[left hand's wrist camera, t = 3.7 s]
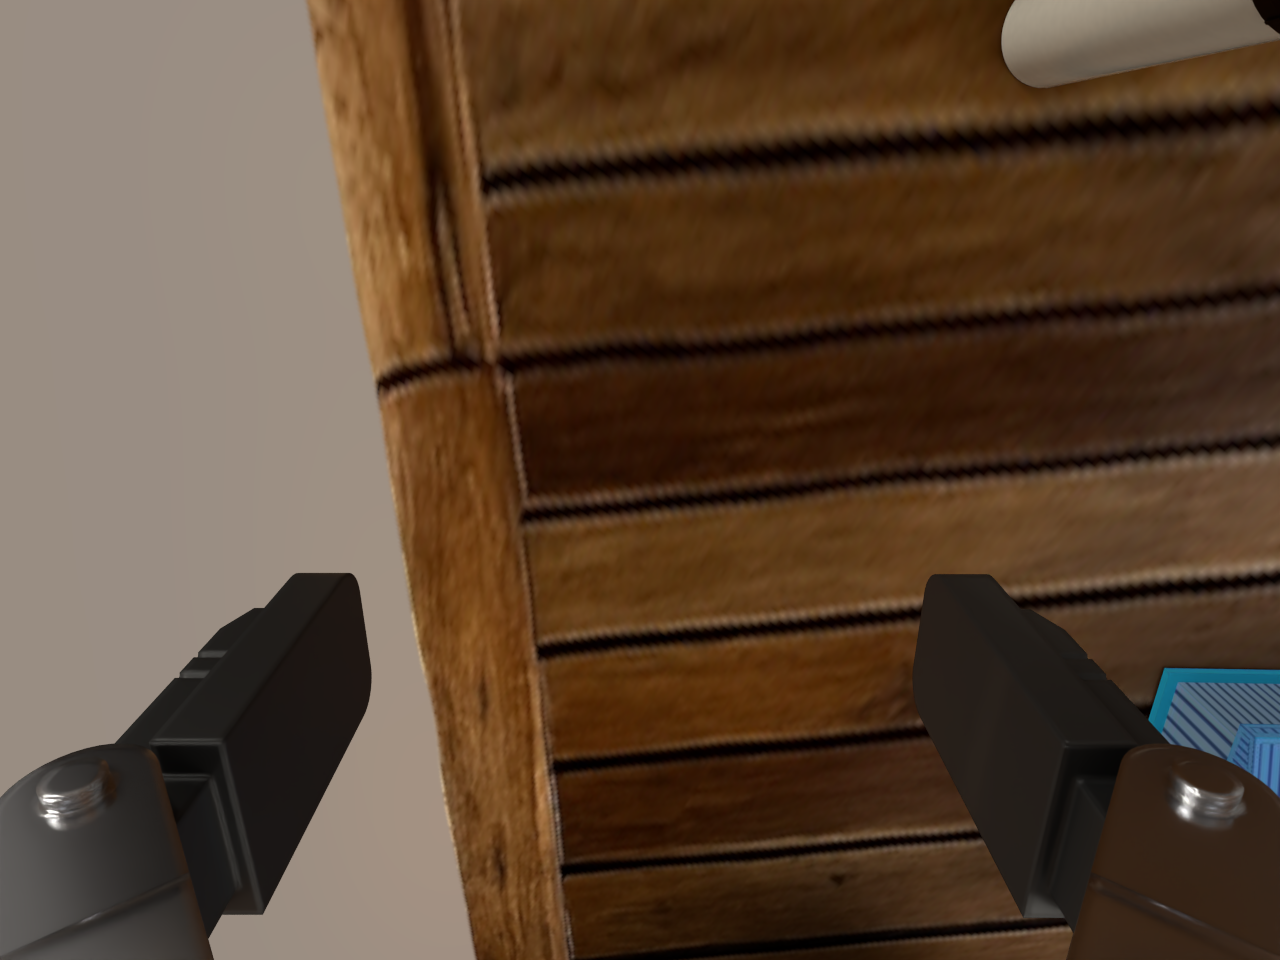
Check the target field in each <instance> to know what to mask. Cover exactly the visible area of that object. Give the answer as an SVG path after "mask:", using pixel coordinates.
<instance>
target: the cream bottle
mask: <svg viewBox="0 0 1280 960" xmlns="http://www.w3.org/2000/svg"><path fill="white" fill-rule="evenodd" d="M1264 22H1265V21H1264V20H1263V19H1262V17H1261V16H1260V14H1259V13H1258V11H1257V9H1256V8H1255V6H1254V4H1253V1H1252V0H1015V1H1014V3H1013V4H1012V6H1011V8H1010V10H1009V12H1008V14H1007V16H1006V19H1005V22H1004V26H1003V31H1002V52H1003V57H1004V59H1005V62H1006V64H1007V66H1008V68H1009V70H1010V71H1011V73H1012V74H1013V75H1014V76H1015V77H1016V78H1017V79H1018V80H1020V81H1021V82H1022V83H1024V84H1026V85H1029V86H1032V87H1037V88H1050V87H1056V86H1060V85H1065V84H1070V83H1075V82H1080V81H1085V80H1089V79H1094V78H1099V77H1104V76H1109V75H1114V74H1118V73H1123V72H1128V71H1133V70H1138V69H1143V68H1147V67H1152V66H1157V65H1162V64H1167V63H1172V62H1176V61H1181V60H1186V59H1191V58H1196V57H1201V56H1205V55H1210V54H1215V53H1220V52H1225V51H1230V50H1234V49H1239V48H1244V47H1249V46H1254V45H1259V44H1263V43H1268V42H1273V41H1278V40H1280V34H1278V33H1277V32H1276V31H1275V30H1273V29H1272V28H1271V27H1270V26H1269V25H1266V24H1265V23H1264Z"/></svg>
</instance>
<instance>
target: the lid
mask: <svg viewBox="0 0 1280 960" xmlns="http://www.w3.org/2000/svg"><path fill="white" fill-rule="evenodd" d="M1252 1H1253V4H1254V6H1255V8H1256V9H1257V11H1258V13H1259V14H1260V16H1261V17H1262V19H1263V20H1264V21H1265V22H1264V23H1265V24H1266V25H1269V26H1270V27H1271V28H1272V29H1273V30H1275V31H1276V32H1277V33H1278V34H1280V0H1252Z"/></svg>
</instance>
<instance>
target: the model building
mask: <svg viewBox="0 0 1280 960" xmlns="http://www.w3.org/2000/svg"><path fill="white" fill-rule="evenodd" d="M1149 721H1150V722H1151V723H1152V725H1153V726H1154V727H1155V728H1156V729H1157V730H1158V731H1159V732H1160V733H1161V734H1162V735H1163V736H1164V737H1165V739H1166V740H1167V741H1168V742H1169V743H1170V744H1173V745H1181V746H1185V747H1190V748H1194V749H1197V750H1201V751H1204V752H1207V753H1210V754H1213V755H1215V756H1218V757H1220V758H1223V759H1225V760H1227V761H1229V762H1231V763H1233V764H1235V765H1237V766H1239V767H1241V768H1242V769H1244V770H1246V771H1248V772H1249V773H1251V774H1252V775H1254V776H1255V777H1257V778H1258V779H1260V780H1261V781H1262V782H1263V783H1265V784H1266V785H1267V786H1268V787H1269V788H1271V789H1272V790H1273V791H1274V792H1275V793H1276V794H1277V795H1278V797H1279V798H1280V670H1253V669H1194V668H1164V671H1163V674H1162V678H1161V681H1160V684H1159V687H1158V691H1157V694H1156V697H1155V700H1154V703H1153V707H1152V710H1151V713H1150V716H1149Z"/></svg>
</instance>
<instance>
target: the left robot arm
mask: <svg viewBox="0 0 1280 960" xmlns="http://www.w3.org/2000/svg"><path fill="white" fill-rule="evenodd" d="M370 691H371V664H370V657H369V650H368V643H367V637H366V630H365V623H364V616H363V609H362V603H361V596H360V590H359V585H358V582H357V580H356V578H355V576H354V575H353V574H351V573H296V574H294V575H293V576H292V577H291V578H290V579H289V580H288V581H287V582H286V583H285V585H284V586H283V587H282V588H281V589H280V590H279V591H278V593H277V594H276V595H275V596H274V597H273V599H272V600H271V601H270V602H269V603H268V604H267V605H266V607H265V608H254V609H252V610H250V611H249V612H247V613H245V614H244V615H242V616H240V617H239V618H237V619H235V620H234V621H232V622H230V623H229V624H227V625H226V626H224V627H222V628H221V629H219V631H218V632H217V633H216V634H215V635H214V636H213V637H212V638H211V639H210V640H209V641H208V643H207V644H206V645H205V646H204V647H203V648H202V649H201V650H200V651H199V652H198V657H194V658H193V659H192V660H191V661H190V662H189V663H188V664H187V665H186V666H185V668H184V669H183V670H182V671H181V672H180V677H179V678H174V680H173V681H172V682H171V683H170V684H169V685H168V686H167V687H166V688H165V689H164V690H163V691H162V693H161V694H160V695H159V696H158V697H157V698H156V699H155V700H154V701H153V702H152V703H151V705H150V706H149V707H148V708H147V709H146V710H145V711H144V712H143V713H142V714H141V716H139V718H138V719H137V720H136V721H135V722H134V723H133V724H132V725H131V726H130V727H129V729H128V730H127V731H126V732H125V733H124V734H123V735H122V736H121V737H120V738H119V739H118V740H117V742H116V743H115V744H107V745H99V746H95V747H90V748H86V749H83V750H79V751H76V752H73V753H70V754H68V755H65V756H62V757H60V758H57V759H55V760H53V761H51V762H49V763H47V764H45V765H43V766H41V767H39V768H38V769H36V770H34V771H32V772H31V773H29V774H28V775H26V776H25V777H23V778H22V779H21V780H19V781H18V782H17V783H16V784H14V785H13V786H12V787H11V788H9V789H8V790H7V791H6V792H5V793H4V794H3V796H2V797H1V798H0V960H214V958H213V955H212V951H211V948H210V944H209V940H208V938H209V937H210V935H211V933H212V931H213V930H214V928H215V926H216V924H217V922H218V921H219V919H220V917H221V915H262V914H263V913H264V911H265V909H266V907H267V905H268V903H269V901H270V899H271V897H272V895H273V893H274V891H275V889H276V887H277V886H278V884H279V882H280V880H281V878H282V876H283V874H284V872H285V870H286V868H287V866H288V864H289V862H290V860H291V858H292V856H293V854H294V852H295V850H296V848H297V846H298V844H299V842H300V840H301V838H302V836H303V834H304V832H305V830H306V828H307V826H308V824H309V822H310V821H311V819H312V817H313V815H314V813H315V811H316V809H317V807H318V805H319V803H320V801H321V799H322V797H323V795H324V793H325V791H326V789H327V787H328V785H329V783H330V781H331V779H332V777H333V775H334V773H335V771H336V769H337V767H338V765H339V763H340V761H341V759H342V758H343V756H344V754H345V752H346V750H347V748H348V746H349V744H350V742H351V740H352V738H353V736H354V734H355V732H356V730H357V728H358V726H359V724H360V722H361V720H362V718H363V716H364V714H365V712H366V709H367V706H368V702H369V697H370ZM913 692H914V698H915V703H916V707H917V710H918V713H919V715H920V717H921V719H922V721H923V723H924V725H925V727H926V729H927V731H928V733H929V735H930V737H931V739H932V741H933V743H934V745H935V747H936V749H937V750H938V752H939V754H940V756H941V758H942V760H943V762H944V764H945V766H946V768H947V770H948V772H949V774H950V776H951V778H952V780H953V782H954V784H955V785H956V787H957V789H958V791H959V793H960V795H961V797H962V799H963V801H964V803H965V805H966V807H967V809H968V811H969V813H970V815H971V817H972V819H973V820H974V822H975V824H976V826H977V828H978V830H979V832H980V834H981V836H982V838H983V840H984V842H985V844H986V846H987V848H988V850H989V852H990V854H991V855H992V857H993V859H994V861H995V863H996V865H997V867H998V869H999V871H1000V873H1001V875H1002V877H1003V879H1004V881H1005V883H1006V885H1007V887H1008V889H1009V890H1010V892H1011V894H1012V896H1013V898H1014V900H1015V902H1016V904H1017V906H1018V908H1019V910H1020V912H1021V914H1022V916H1023V918H1065V919H1066V921H1067V923H1068V924H1069V926H1070V928H1071V930H1072V931H1073V937H1072V940H1071V944H1070V948H1069V951H1068V955H1067V958H1066V960H1280V798H1279V797H1278V795H1277V794H1276V793H1275V792H1274V791H1273V790H1272V789H1271V788H1269V787H1268V786H1267V785H1266V784H1265V783H1263V782H1262V781H1261V780H1260V779H1258V778H1257V777H1255V776H1254V775H1252V774H1251V773H1249V772H1248V771H1246V770H1244V769H1242V768H1241V767H1239V766H1237V765H1235V764H1233V763H1231V762H1229V761H1227V760H1225V759H1223V758H1220V757H1218V756H1215V755H1213V754H1210V753H1207V752H1204V751H1201V750H1197V749H1194V748H1190V747H1185V746H1181V745H1173V744H1170V743H1169V742H1168V741H1167V740H1166V739H1165V737H1164V736H1163V735H1162V734H1161V733H1160V732H1159V731H1158V730H1157V729H1156V728H1155V727H1154V726H1153V725H1152V723H1151V722H1150V721H1149V720H1148V719H1147V718H1146V717H1145V716H1144V715H1143V714H1142V713H1141V712H1140V711H1139V709H1138V708H1137V707H1136V706H1135V705H1134V704H1133V703H1132V702H1131V701H1130V700H1129V699H1128V698H1127V697H1126V695H1125V694H1124V693H1123V692H1122V691H1121V690H1120V689H1119V688H1118V687H1117V686H1116V685H1115V684H1114V682H1113V681H1112V680H1107V679H1106V674H1105V673H1104V672H1103V671H1102V670H1101V668H1100V667H1099V666H1098V665H1097V664H1096V663H1095V662H1094V661H1093V660H1092V659H1088V658H1087V653H1086V652H1085V651H1084V650H1083V649H1082V648H1081V647H1080V646H1079V645H1078V644H1077V643H1076V642H1075V640H1074V639H1073V638H1072V637H1071V636H1070V635H1069V634H1068V633H1067V632H1066V631H1065V630H1064V629H1062V628H1061V627H1059V626H1057V625H1056V624H1054V623H1052V622H1051V621H1049V620H1047V619H1046V618H1044V617H1042V616H1041V615H1039V614H1037V613H1036V612H1034V611H1032V610H1021V609H1020V608H1019V607H1018V606H1017V604H1016V603H1015V602H1014V601H1013V600H1012V599H1011V597H1010V596H1009V595H1008V594H1007V593H1006V592H1005V591H1004V589H1003V588H1002V587H1001V586H1000V585H999V584H998V583H997V581H996V580H995V579H994V578H993V577H992V576H990V575H987V574H934V575H932V576H931V577H930V578H929V580H928V582H927V584H926V588H925V593H924V599H923V606H922V612H921V619H920V626H919V633H918V639H917V646H916V653H915V659H914V666H913Z"/></svg>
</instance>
